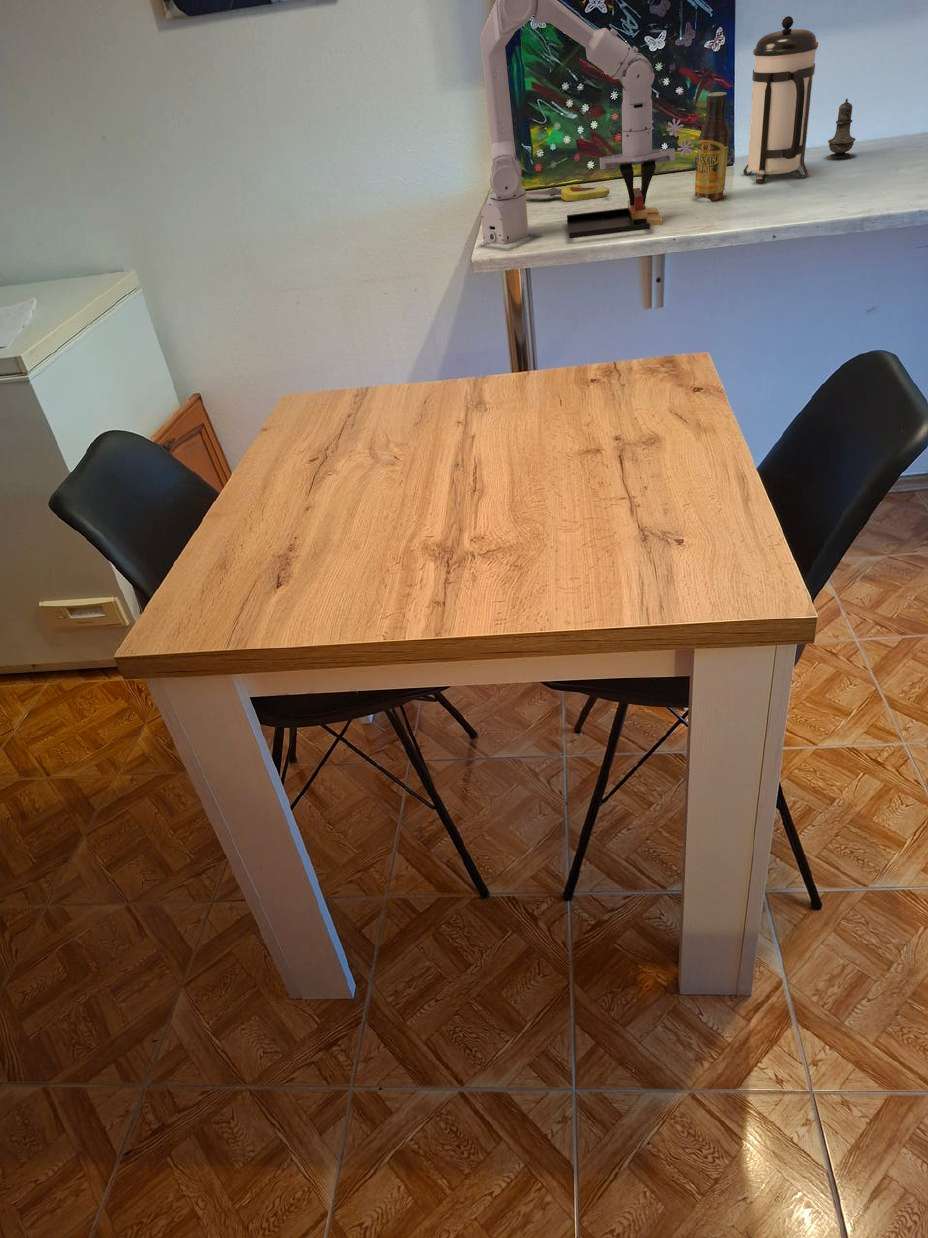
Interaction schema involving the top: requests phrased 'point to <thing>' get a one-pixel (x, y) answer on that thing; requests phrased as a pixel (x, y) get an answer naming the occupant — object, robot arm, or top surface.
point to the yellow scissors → (572, 193)
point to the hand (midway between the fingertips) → (637, 203)
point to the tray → (602, 223)
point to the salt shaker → (842, 134)
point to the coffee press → (781, 101)
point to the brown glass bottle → (712, 149)
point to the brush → (637, 208)
